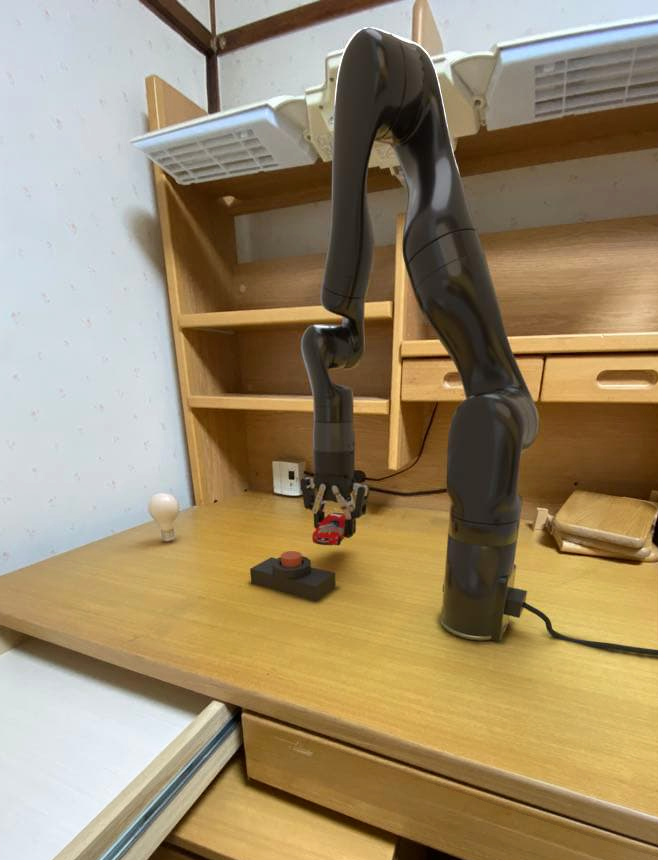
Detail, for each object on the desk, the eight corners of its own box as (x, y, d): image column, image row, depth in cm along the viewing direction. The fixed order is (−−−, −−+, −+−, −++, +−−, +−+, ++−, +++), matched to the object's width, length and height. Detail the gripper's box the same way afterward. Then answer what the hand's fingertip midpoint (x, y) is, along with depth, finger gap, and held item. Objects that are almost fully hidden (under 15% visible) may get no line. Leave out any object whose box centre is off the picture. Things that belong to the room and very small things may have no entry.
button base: (336, 587, 80) (335, 563, 79) (315, 602, 75) (314, 578, 74) (273, 570, 87) (271, 548, 85) (250, 584, 82) (248, 560, 80)
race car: (336, 550, 82) (335, 529, 81) (308, 547, 84) (307, 526, 83) (357, 527, 94) (357, 508, 93) (332, 524, 96) (332, 505, 94)
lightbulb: (175, 547, 99) (168, 497, 95) (147, 545, 100) (139, 496, 96) (188, 537, 105) (182, 490, 101) (163, 535, 105) (155, 489, 102)
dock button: (306, 562, 80) (305, 553, 80) (293, 570, 77) (293, 560, 77) (289, 558, 82) (289, 549, 81) (277, 565, 79) (276, 556, 78)
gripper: (289, 446, 83) (293, 533, 89) (359, 453, 76) (358, 547, 82) (312, 440, 89) (314, 522, 95) (378, 446, 82) (376, 534, 88)
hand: (334, 533), depth 89 cm, fingers closed on race car, 6 cm apart
